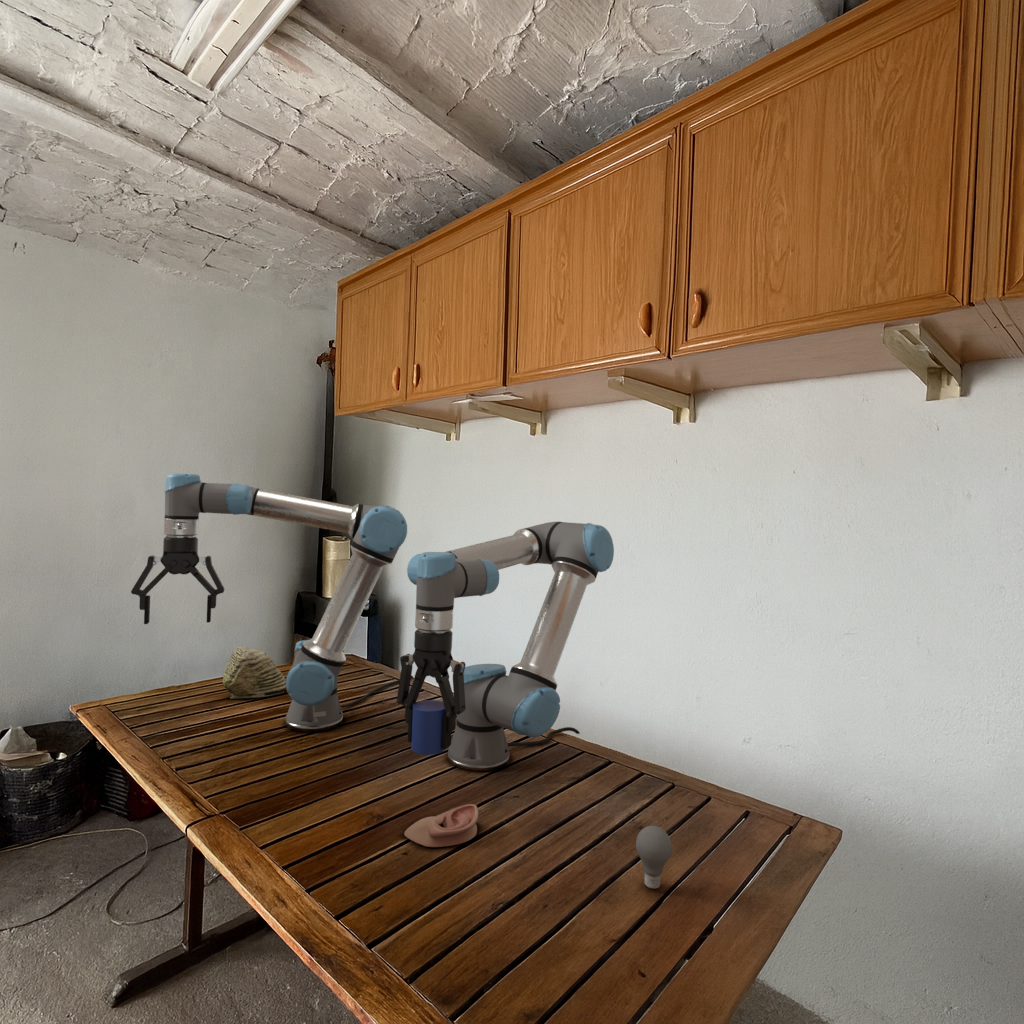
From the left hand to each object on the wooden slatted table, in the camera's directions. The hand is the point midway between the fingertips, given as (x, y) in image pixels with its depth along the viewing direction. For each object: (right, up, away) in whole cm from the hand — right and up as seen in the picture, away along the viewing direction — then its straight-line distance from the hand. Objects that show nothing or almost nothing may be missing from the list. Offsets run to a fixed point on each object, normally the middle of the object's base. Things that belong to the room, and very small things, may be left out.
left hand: (178, 622), depth 156 cm
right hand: (+66, -19, -29) cm, 74 cm away
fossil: (+2, -30, +42) cm, 52 cm away
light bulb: (+106, -36, -49) cm, 122 cm away
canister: (+66, -20, -29) cm, 74 cm away
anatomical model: (+69, -34, -35) cm, 84 cm away
